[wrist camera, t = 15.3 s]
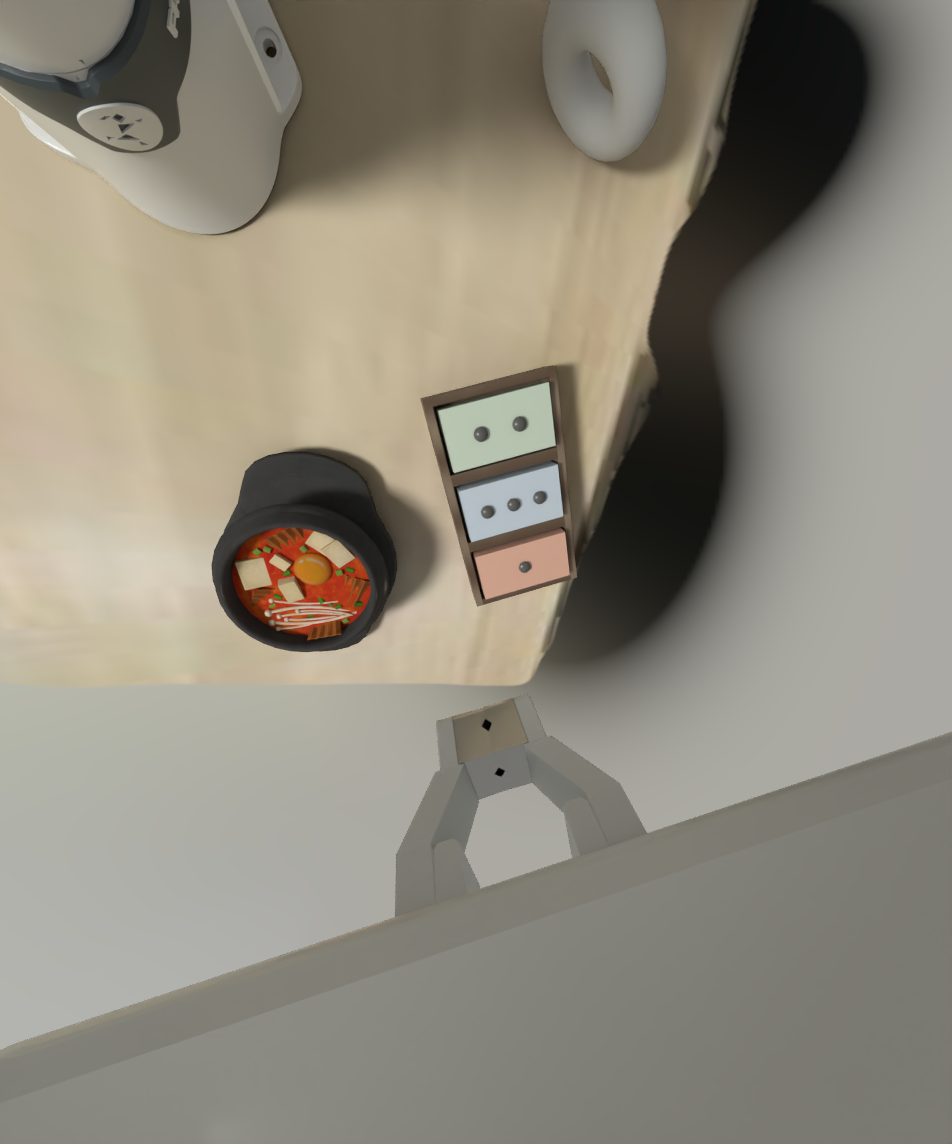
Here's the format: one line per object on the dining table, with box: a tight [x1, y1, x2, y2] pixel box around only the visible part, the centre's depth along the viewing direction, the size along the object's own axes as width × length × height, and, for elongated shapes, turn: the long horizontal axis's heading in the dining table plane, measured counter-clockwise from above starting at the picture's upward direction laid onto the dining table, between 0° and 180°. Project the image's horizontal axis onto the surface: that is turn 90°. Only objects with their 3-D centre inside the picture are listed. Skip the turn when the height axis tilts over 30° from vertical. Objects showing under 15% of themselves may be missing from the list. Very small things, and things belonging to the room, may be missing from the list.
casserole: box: [212, 452, 397, 652], centre depth 40 cm, size 25×19×8 cm
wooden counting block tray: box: [421, 366, 577, 606], centre depth 42 cm, size 24×13×4 cm, turn 13°
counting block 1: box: [436, 382, 556, 473], centre depth 37 cm, size 6×11×4 cm, turn 103°
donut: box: [542, 0, 667, 162], centre depth 26 cm, size 10×3×10 cm, turn 50°
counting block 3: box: [472, 527, 570, 599], centre depth 45 cm, size 6×11×4 cm, turn 103°
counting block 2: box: [455, 461, 563, 542], centre depth 41 cm, size 6×11×4 cm, turn 103°
